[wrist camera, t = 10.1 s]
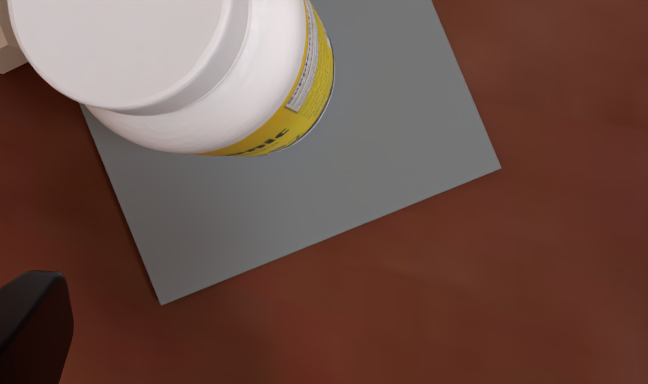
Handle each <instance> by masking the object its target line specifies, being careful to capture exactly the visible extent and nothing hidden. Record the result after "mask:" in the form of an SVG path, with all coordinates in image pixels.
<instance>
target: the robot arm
mask: <svg viewBox="0 0 648 384" xmlns="http://www.w3.org/2000/svg"><path fill="white" fill-rule="evenodd" d="M73 329H74V321H73V314H72V308H71V302H70V296H69V290H68V284H67V280H66V278H65V276H64V275H63V274H62V273H60V272H52V271H37V270H32V271H27V272H25V273H23V274H21V275H20V276H18V277H17V278H15V279H14V280H12V281H11V282H9V283H8V284H6V285H4V286H3V287H1V288H0V384H59V381H60V378H61V374H62V371H63V368H64V364H65V361H66V358H67V354H68V351H69V348H70V344H71V341H72V337H73Z"/></svg>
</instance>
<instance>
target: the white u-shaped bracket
mask: <svg viewBox="0 0 648 384" xmlns="http://www.w3.org/2000/svg"><path fill="white" fill-rule="evenodd" d="M27 62H28V60H27V59H26V57H25V55H24V54H23V52H22V50H21V49H20V47H19V44H18V42H17V39H16V37H15V35H14V32H13V29H12V26H11V22H10V18H9V13H8V6H7V0H0V74H4V73H6V72H8V71H10V70H12V69H15V68H17V67H19V66H21V65H23V64H25V63H27Z"/></svg>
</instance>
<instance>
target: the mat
mask: <svg viewBox="0 0 648 384" xmlns="http://www.w3.org/2000/svg"><path fill="white" fill-rule="evenodd" d="M309 1H310V3H311V4H312V6H313V8H314V9H315V11H316V13H317V15H318V16H319V18H320V20H321V22H322V24H323V25H324V27H325V29H326V31H327V33H328V36H329V38H330V41H331V44H332V48H333V54H334V61H335V80H334V87H333V91H332V95H331V98H330V101H329V104H328V106H327V108H326V110H325V112H324V114H323V115H322V117H321V119H320V120H319V122H318V123H317V124H316V126H315V127H314V128H313V129H312V130H311V131H310V132H309V133H308V134H307V135H306V136H305V137H304V138H303V139H301V140H300V141H298V142H297V143H296V144H294V145H292V146H290V147H288V148H286V149H284V150H282V151H279V152H276V153H273V154H268V155H263V156H252V157H242V156H203V155H188V154H174V153H169V152H163V151H157V150H153V149H149V148H146V147H143V146H140V145H137V144H135V143H132V142H130V141H129V140H127V139H125V138H123V137H121V136H119V135H118V134H116V133H114V132H113V131H111V130H110V129H109V128H107V127H106V126H105V125H103V124H102V123H101V122H100V121H99V120H98V119H97V118H96V117H95V116H94V115H93V114H92V113H91V112H90V111H89V110H88V108H87V107H86V106H85V105H84V104H82V103H79V105H80V107H81V109H82V112H83V114H84V117H85V119H86V122H87V124H88V127H89V129H90V132H91V134H92V137H93V139H94V142H95V144H96V146H97V149H98V151H99V154H100V156H101V159H102V161H103V164H104V166H105V169H106V171H107V174H108V176H109V178H110V181H111V183H112V186H113V188H114V191H115V193H116V196H117V198H118V201H119V203H120V206H121V208H122V211H123V213H124V215H125V218H126V220H127V223H128V225H129V228H130V230H131V233H132V235H133V238H134V240H135V243H136V245H137V248H138V250H139V252H140V255H141V257H142V260H143V262H144V265H145V267H146V270H147V272H148V275H149V277H150V280H151V282H152V285H153V287H154V289H155V292H156V294H157V297H158V299H159V302H160V304H161V305H164V304H166V303H169V302H171V301H174V300H176V299H179V298H181V297H184V296H186V295H189V294H191V293H194V292H196V291H198V290H201V289H203V288H206V287H208V286H211V285H213V284H216V283H218V282H221V281H223V280H226V279H228V278H231V277H233V276H236V275H238V274H241V273H243V272H246V271H248V270H250V269H253V268H255V267H258V266H260V265H263V264H265V263H268V262H270V261H273V260H275V259H278V258H280V257H283V256H285V255H288V254H290V253H293V252H295V251H298V250H300V249H303V248H305V247H307V246H310V245H312V244H315V243H317V242H320V241H322V240H325V239H327V238H330V237H332V236H335V235H337V234H340V233H342V232H345V231H347V230H350V229H352V228H355V227H357V226H359V225H362V224H364V223H367V222H369V221H372V220H374V219H377V218H379V217H382V216H384V215H387V214H389V213H392V212H394V211H397V210H399V209H402V208H404V207H407V206H409V205H411V204H414V203H416V202H419V201H421V200H424V199H426V198H429V197H431V196H434V195H436V194H439V193H441V192H444V191H446V190H449V189H451V188H454V187H456V186H459V185H461V184H464V183H466V182H468V181H471V180H473V179H476V178H478V177H481V176H483V175H486V174H488V173H491V172H493V171H496V170H498V169H501V166H500V163H499V161H498V159H497V156H496V154H495V152H494V149H493V147H492V144H491V142H490V140H489V137H488V135H487V132H486V130H485V128H484V125H483V123H482V120H481V118H480V116H479V113H478V111H477V109H476V106H475V104H474V101H473V99H472V97H471V94H470V92H469V89H468V87H467V85H466V82H465V80H464V77H463V75H462V73H461V70H460V68H459V66H458V63H457V61H456V58H455V56H454V54H453V51H452V49H451V46H450V44H449V42H448V39H447V37H446V35H445V32H444V30H443V27H442V25H441V23H440V20H439V18H438V15H437V13H436V11H435V8H434V6H433V3H432V1H431V0H309Z"/></svg>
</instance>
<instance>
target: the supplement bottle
mask: <svg viewBox="0 0 648 384" xmlns="http://www.w3.org/2000/svg"><path fill="white" fill-rule="evenodd" d="M7 6H8V13H9V18H10V22H11V26H12V29H13V32H14V35H15V37H16V39H17V42H18V44H19V47H20V49H21V50H22V52H23V54H24V55H25V57H26V59H27V60H28V62H29V63H30V64H31V66H32V67H33V68H34V69H35V71H36V72H37V73H38V74H39V75H40V76H41V77H42V78H43V79H44V80H45V81H46V82H47V83H48V84H49V85H50V86H52V87H53V88H54V89H56V90H57V91H59V92H60V93H62V94H64V95H66V96H67V97H69V98H71V99H73V100H75V101H77V102H79V103H82V104H84V105H85V106H86V107H87V108H88V110H89V111H90V112H91V113H92V114H93V115H94V116H95V117H96V118H97V119H98V120H99V121H100V122H101V123H102V124H103V125H105V126H106V127H107V128H109V129H110V130H111V131H113V132H114V133H116V134H118V135H119V136H121V137H123V138H125V139H127V140H129V141H130V142H132V143H135V144H137V145H140V146H143V147H146V148H149V149H153V150H157V151H163V152H169V153H174V154H188V155H203V156H242V157H252V156H263V155H268V154H273V153H276V152H279V151H282V150H284V149H286V148H288V147H290V146H292V145H294V144H296V143H297V142H298V141H300V140H301V139H303V138H304V137H305V136H306V135H307V134H308V133H309V132H310V131H311V130H312V129H313V128H314V127H315V126H316V124H317V123H318V122H319V120H320V119H321V117H322V115H323V114H324V112H325V110H326V108H327V106H328V104H329V101H330V98H331V95H332V91H333V87H334V80H335V61H334V54H333V48H332V44H331V41H330V38H329V36H328V33H327V31H326V29H325V27H324V25H323V24H322V22H321V20H320V18H319V16H318V15H317V13H316V11H315V9H314V8H313V6H312V4H311V3H310V1H309V0H7Z"/></svg>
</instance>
